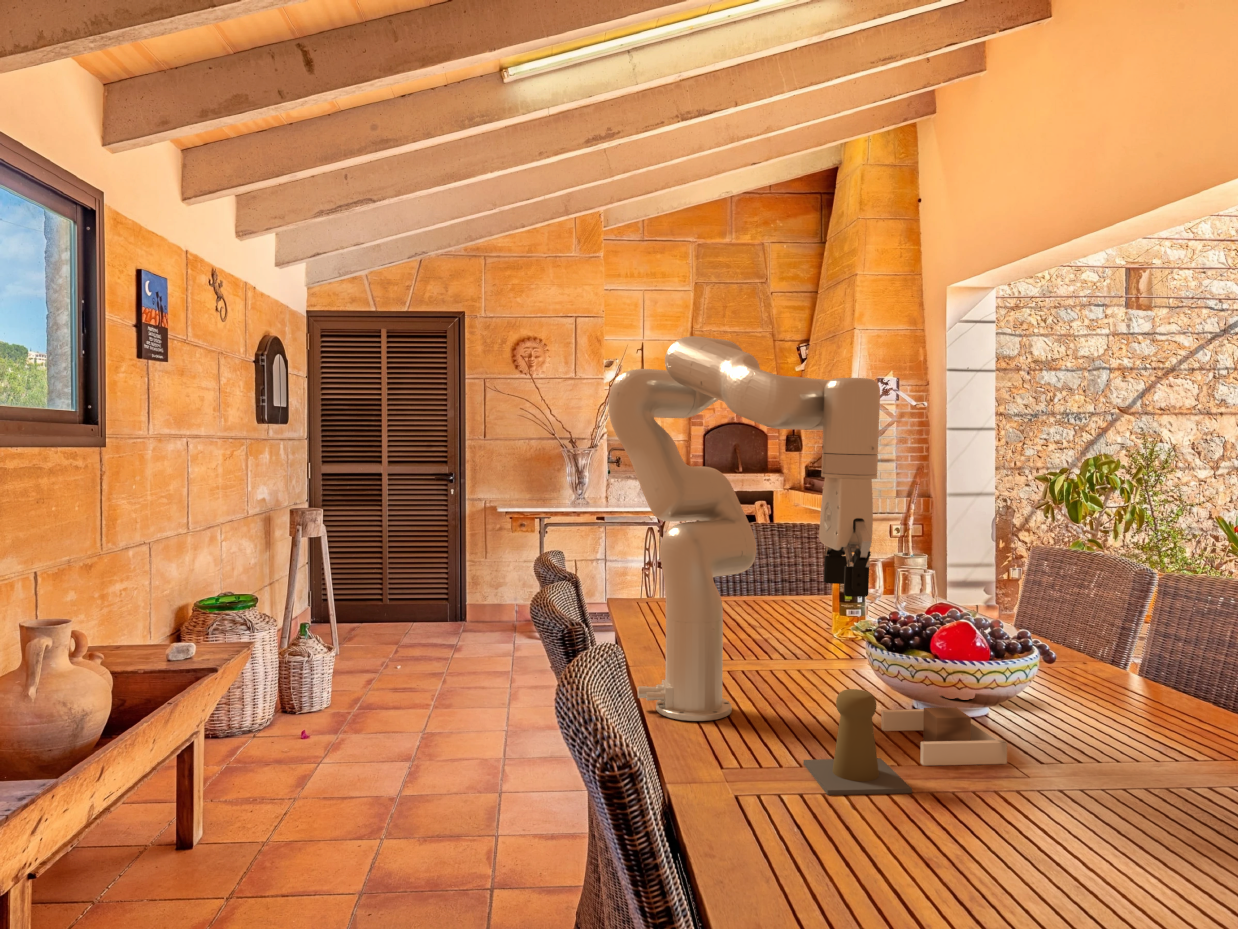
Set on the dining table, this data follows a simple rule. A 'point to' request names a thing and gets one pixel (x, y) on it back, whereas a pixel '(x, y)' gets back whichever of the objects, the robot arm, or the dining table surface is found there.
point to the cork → (856, 737)
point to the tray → (972, 752)
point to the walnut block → (946, 725)
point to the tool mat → (838, 786)
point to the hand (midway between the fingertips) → (845, 589)
